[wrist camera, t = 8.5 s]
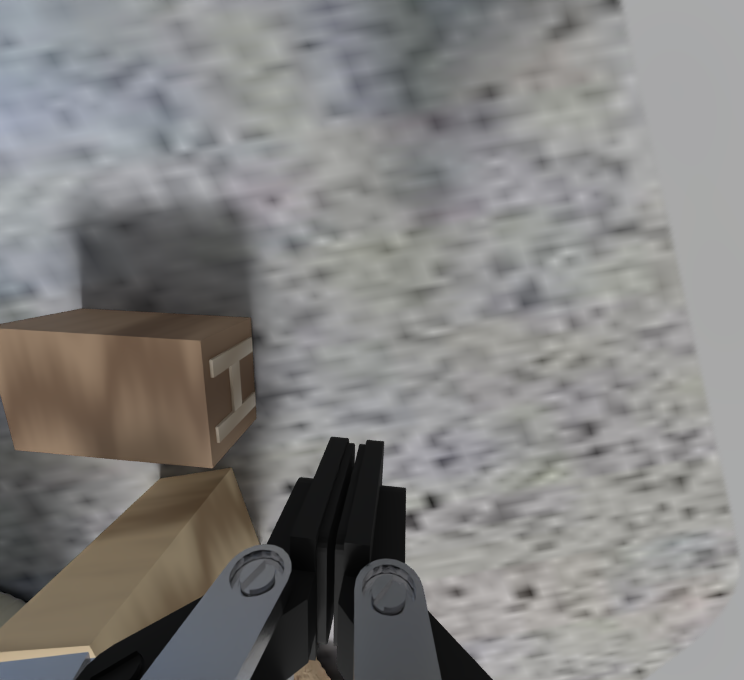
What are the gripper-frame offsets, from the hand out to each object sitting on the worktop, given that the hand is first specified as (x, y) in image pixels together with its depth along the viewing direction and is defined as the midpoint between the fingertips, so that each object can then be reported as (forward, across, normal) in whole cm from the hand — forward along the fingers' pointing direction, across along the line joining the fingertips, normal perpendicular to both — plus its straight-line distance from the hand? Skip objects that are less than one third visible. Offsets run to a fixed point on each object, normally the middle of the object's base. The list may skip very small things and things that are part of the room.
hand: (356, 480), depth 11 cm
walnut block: (+6, +7, 0) cm, 9 cm away
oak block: (+8, +10, +10) cm, 17 cm away
